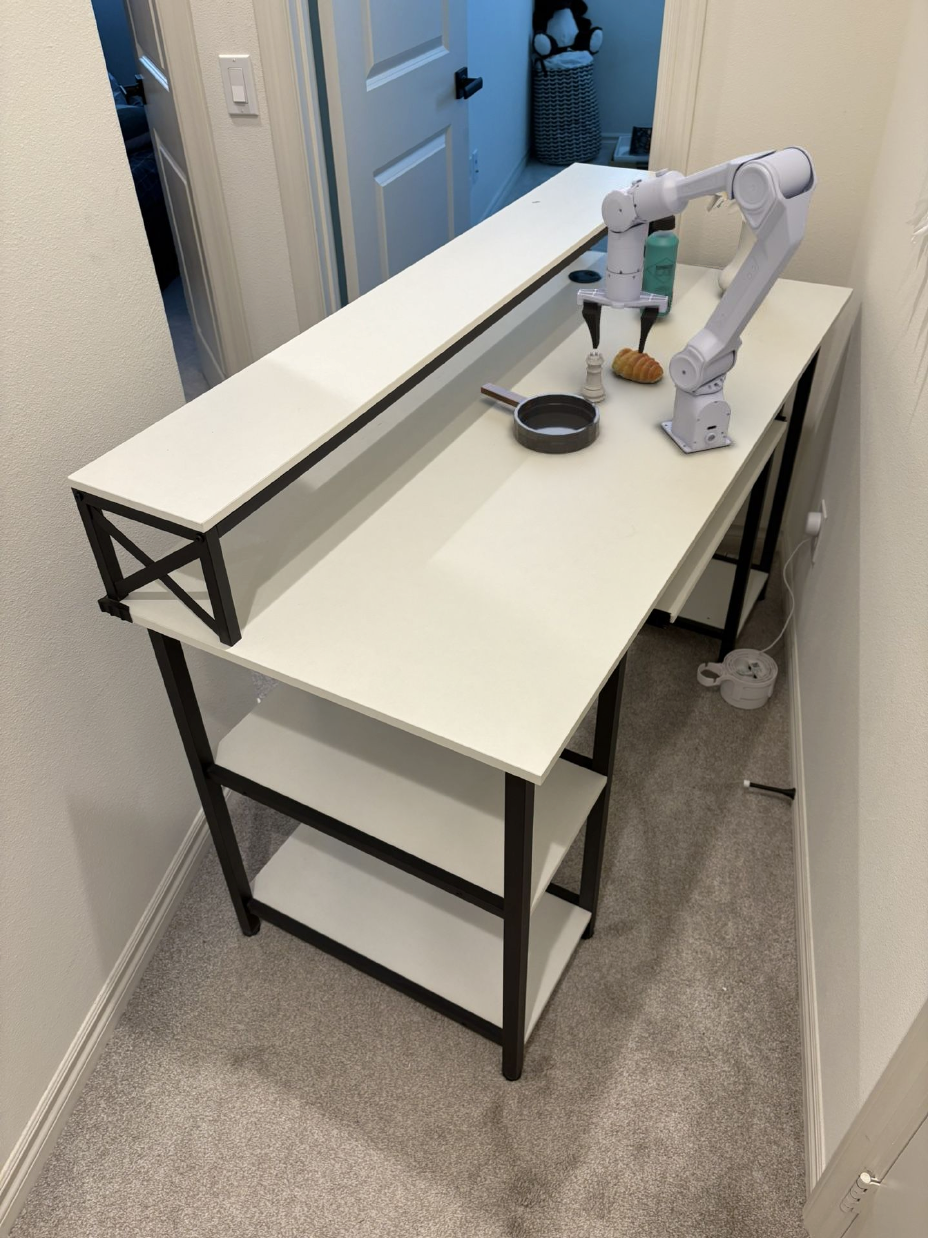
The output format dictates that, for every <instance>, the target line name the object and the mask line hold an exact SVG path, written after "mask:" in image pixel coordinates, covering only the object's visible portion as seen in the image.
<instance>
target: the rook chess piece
mask: <svg viewBox="0 0 928 1238" xmlns="http://www.w3.org/2000/svg"><path fill="white" fill-rule="evenodd" d="M584 361H585V363H586V365H587V366H586V368H585V371H586V377H585V381H584V383H583V385H582V386H581V389H580V395H579V396H581V397H584V398H586V399H588V400H590V401H591V402H593V403H594V404H598V403H601V402H602V401H604V399H605V398H606V388H605V386H604V383H603V381H602V371H603V367H602V365H603V364H604V363H605V359H604V356H603V354H602V353H601V352H600V353H599V352H598V351H596V352H590V353H588V354H587V356H586V358H585V360H584Z"/></svg>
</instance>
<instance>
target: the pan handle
mask: <svg viewBox="0 0 928 1238" xmlns="http://www.w3.org/2000/svg"><path fill="white" fill-rule="evenodd" d="M480 394H482V395H485V396H487V397H490V398H492V399H494V400H497V401H499V402H501V403H504V404H507V405H509V406H511V407H513V408H515V409H516V407H517V406H518V405H519V404H520V403H521V402H523V401H524V400H526V399H528V398H529V397H526V396H523V395H521V394H518V393H516V392H513V391H511V390H509V389H506V388H504V387H501V386H500V385H497V384H494V383H493V382H487V383H485V384H484V385H481V386H480ZM529 407H530V401H528V402H527V403H526V409H527V408H529Z"/></svg>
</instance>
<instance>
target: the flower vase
mask: <svg viewBox="0 0 928 1238" xmlns="http://www.w3.org/2000/svg"><path fill="white" fill-rule="evenodd" d="M707 196H709V197H710V198H709V200H708V202H707V205H706V211H707V212H710V211H711V210H712V209H714V210H715V209H716V208H717V209H720V208H721V205H722V203H724V202H727V200H729V199H728V197H727V195H726V192H725V191H722V192H718V193H715V194H711V195H707ZM738 212H740V213H741V214H740V215H741V218H742V222H741V223H742V224H741V230H740V235H739V241H738V245H737V249H736V252H735V254H734V256H733V258H732V260H731V261H730V262H729V263H728V264H727V265H726V266H725V267H724V268H723V269H722V270H721V271H720V273H719V275H718V278H717V285H718V287H719V289H720V290H721V291H722V292H723V294H722V295H724V294H725V292H726V290H727V289H728V287H729V285H730V284H731V282H732V280H733V279H734V277H735V275H736V274H737V272H738V271H739V269H740V267H741V266H742V264H743V262H744V261H745V259H746V257H747V256H748V254H749V253H750V251H751V249H752V248H753V246H754V244H755V243H756V240H757V237H756V236H754V234H753V232H752V230H751V229H750V227H749V225H748V223H747V221H746V219H745V217H744V216H743V214H742V212H741V210H740V208H739V206H738V204H737V202H736V200H735V201H734V200H733V201H732V202H731V203H730V204H729V205H728V206H727V208H726V214H727V215H734V214H736V213H738Z"/></svg>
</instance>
